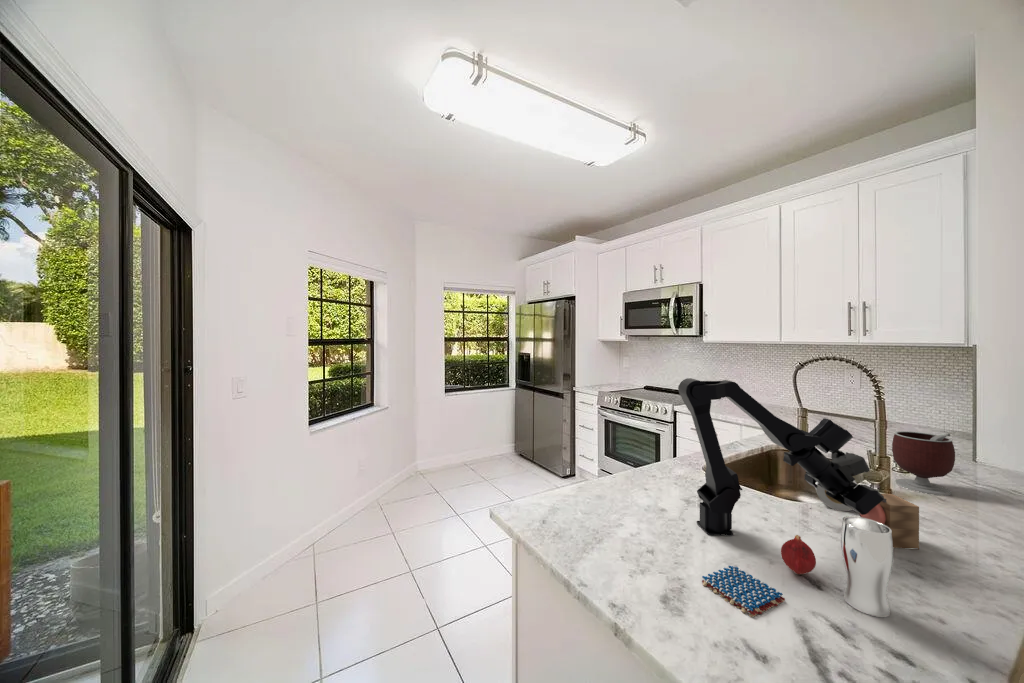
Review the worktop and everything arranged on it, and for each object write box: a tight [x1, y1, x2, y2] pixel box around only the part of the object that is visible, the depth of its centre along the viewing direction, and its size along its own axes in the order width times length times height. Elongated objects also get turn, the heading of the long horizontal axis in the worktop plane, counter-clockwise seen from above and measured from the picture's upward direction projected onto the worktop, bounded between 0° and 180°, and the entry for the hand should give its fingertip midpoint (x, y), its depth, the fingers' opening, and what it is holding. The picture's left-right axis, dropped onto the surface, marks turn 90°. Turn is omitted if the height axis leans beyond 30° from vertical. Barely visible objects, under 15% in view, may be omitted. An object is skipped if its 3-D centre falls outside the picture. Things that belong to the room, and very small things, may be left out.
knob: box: [859, 504, 886, 524], centre depth 90 cm, size 8×6×6 cm
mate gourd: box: [891, 430, 956, 496], centre depth 121 cm, size 16×14×20 cm
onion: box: [780, 534, 817, 576], centre depth 77 cm, size 6×6×8 cm
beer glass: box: [840, 515, 895, 618], centre depth 68 cm, size 7×7×15 cm
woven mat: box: [701, 565, 786, 618], centre depth 72 cm, size 10×11×2 cm
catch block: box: [879, 493, 920, 550], centre depth 90 cm, size 6×7×11 cm
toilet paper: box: [815, 479, 858, 512], centre depth 110 cm, size 10×10×10 cm
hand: (866, 512), depth 91 cm, fingers closed
